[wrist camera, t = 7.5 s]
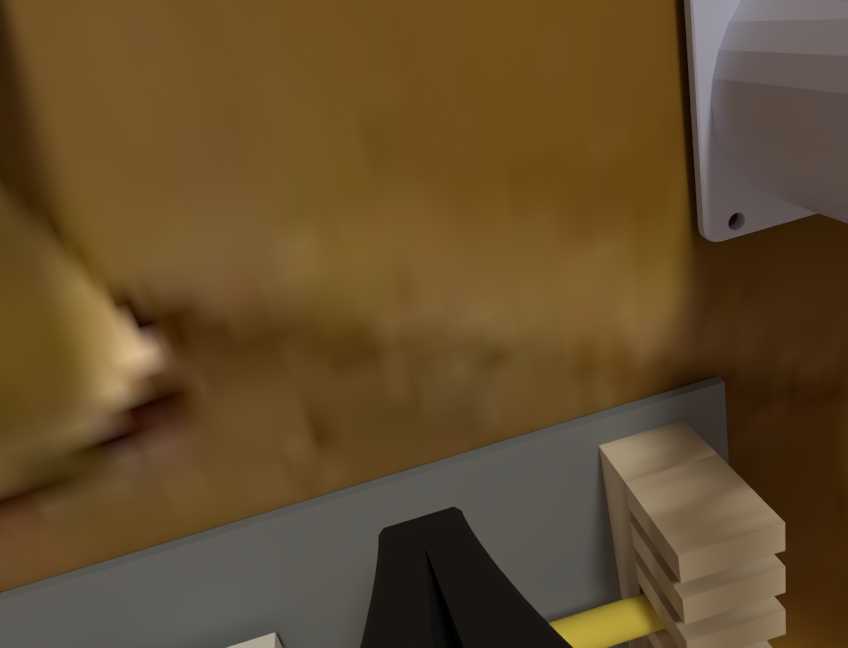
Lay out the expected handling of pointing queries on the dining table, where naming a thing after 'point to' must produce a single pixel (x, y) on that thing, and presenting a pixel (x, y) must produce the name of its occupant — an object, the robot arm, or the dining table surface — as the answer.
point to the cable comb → (693, 541)
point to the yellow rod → (610, 623)
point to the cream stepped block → (261, 642)
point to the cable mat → (366, 546)
